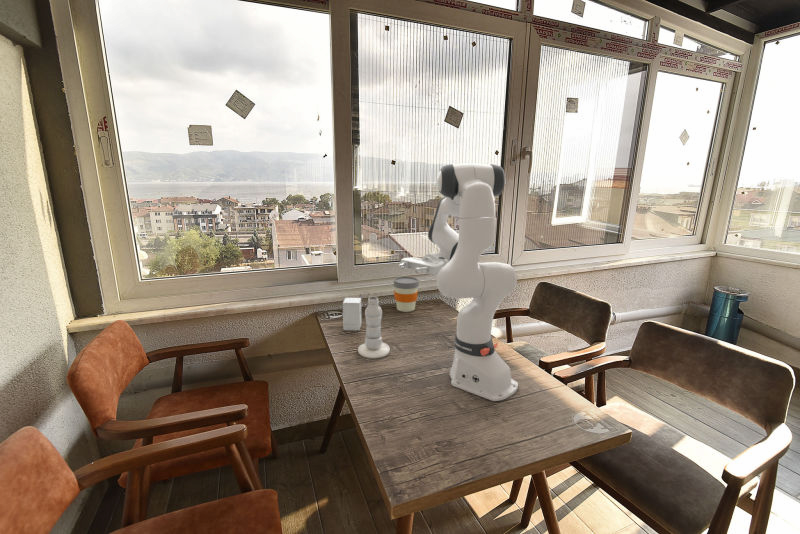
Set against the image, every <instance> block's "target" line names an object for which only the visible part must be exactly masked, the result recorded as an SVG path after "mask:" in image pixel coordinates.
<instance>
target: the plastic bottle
mask: <svg viewBox="0 0 800 534" xmlns="http://www.w3.org/2000/svg"><path fill="white" fill-rule="evenodd" d="M367 300H368V301H367V304H368V305H367V306H366V308H365V310H364V316H365V324H366V325H365V326H366V327H365V328H366V329H365V337H364V343H365V346H366V347H367V348H368V349H372V350H375V349H379V348H380V347H381V345H382V343H383V338H382V337H383V336H382V329H381V327H382V317H383V310H382V307H381V306H380V305H379V303H380V301H379V298H378V297H377V296H370V297H368V299H367Z"/></svg>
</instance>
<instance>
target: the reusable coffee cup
mask: <svg viewBox="0 0 800 534" xmlns="http://www.w3.org/2000/svg"><path fill="white" fill-rule="evenodd" d="M419 283H420V282H419V279H418V278H416V277H413V276H399V277H396V278H394V279H393V287H394V290H393V294H394V300H395V302H396V303H395V304H396V310H397V311H399V312H404V313H405V312H406V313H408V312H413V311H414V310H415V309H416V303H417V300H418V294H419V290H418V288H419V285H420V284H419Z"/></svg>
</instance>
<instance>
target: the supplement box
mask: <svg viewBox="0 0 800 534" xmlns="http://www.w3.org/2000/svg"><path fill="white" fill-rule="evenodd" d="M342 323H343V324H342V326H343V327H342V330H343V331H357V330H358V331H361V326H362V297H345V298H344V299H343V302H342Z"/></svg>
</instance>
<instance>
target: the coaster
mask: <svg viewBox="0 0 800 534" xmlns="http://www.w3.org/2000/svg"><path fill="white" fill-rule="evenodd" d="M390 349H391V348H390V346H389V344H387V343H385V342H382V345H381V347H380V348H379V349H375V350H372V349H368V348H367V347H366V346H365V342H364V343H362V344H360V345H359V346H358V348H357V351H358V355H360V356H362V357H364V358H368V359H380V358H383V357H386V356H388V355H389V354H390V351H391V350H390Z"/></svg>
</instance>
